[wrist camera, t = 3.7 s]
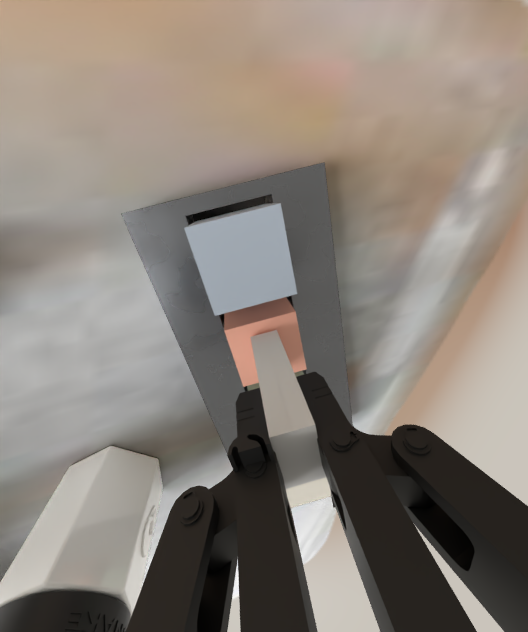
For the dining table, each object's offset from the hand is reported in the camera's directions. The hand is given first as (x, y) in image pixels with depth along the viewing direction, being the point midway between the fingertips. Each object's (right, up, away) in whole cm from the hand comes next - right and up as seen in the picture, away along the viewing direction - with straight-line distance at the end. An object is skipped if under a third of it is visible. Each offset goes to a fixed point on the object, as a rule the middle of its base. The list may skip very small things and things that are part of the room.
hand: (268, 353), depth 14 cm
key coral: (-1, +2, +4) cm, 5 cm away
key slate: (-2, +6, +1) cm, 7 cm away
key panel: (0, 0, +7) cm, 7 cm away
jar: (-15, -14, +11) cm, 23 cm away
